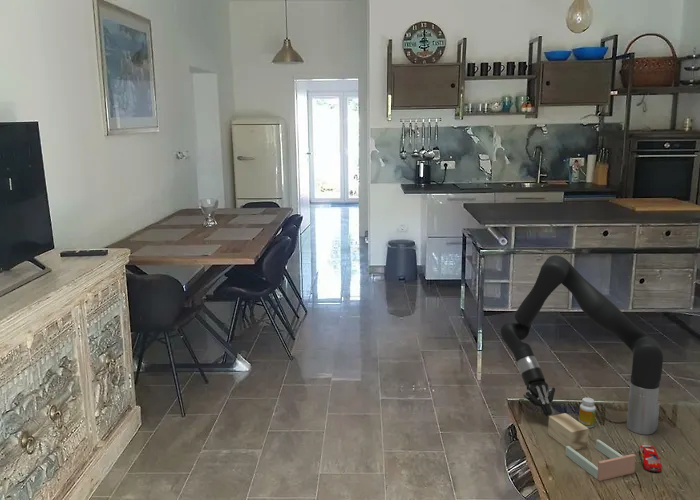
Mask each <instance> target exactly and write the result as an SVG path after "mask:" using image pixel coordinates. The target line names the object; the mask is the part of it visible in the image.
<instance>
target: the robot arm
mask: <svg viewBox="0 0 700 500" xmlns="http://www.w3.org/2000/svg"><path fill="white" fill-rule="evenodd" d="M561 284H562V285H563V286H564V287H565V288H566V289H567V290H568V291H569V292H570V293H571V294H572V296H573V298H574V299H575V300H576V302H577V304H578V305H579V308H580V309H581V310H582V312H583V313H584V314H585V315H586V317H588V318H589V319H590V320H592V321H593V322H594V324H596V325H597V326H598V327H599V328H601V329H603V330H604V331H606V332H608V333H609V334H612V335H613V336H615V337H617V338H618V339H619V340H620V341H621V342H622V343H623V344H625V345H626V346H627V347H628V349H629V350H630V351H631V352H632V355H633V356H632V364H631V365H632V366H631V374H630V380H629V381H630V382H629V393H628V407H627V414H626V415H627V416H626V417H627V418H626V428H627V429H628V430H629V431H631V432H633V433H635V434H638V435H647V436H648V435H652V434H654V433H656V431H657V430H658V425H659V415H660V414H659V413H660V405H659V404H658V402H659V393H660V392H659V391H660V383H661V381H662V372H663V364H664V353H663V350H662V347H661V344H660V343H659V342H658V341H657V340H656V339H655V338H654V337H652V336H651V335H649V334H647V333H646V332H645V331H644V330H643V329H641V328H639V327H638V326H637V325H635V324H634V323H633V322H632V321H631V320H630V319H629V317H628V316H627V315H625V313H624V312H623V311H622V310H620V309H619V308H618V307H617V306H616V305H615V304H614V303H613V302H612V301H611V300H610V299H608V297H606V296H605V295H604V294H603V293H602V292H600V291H599V290H598V289H597V288H596V287H595V286H593V285H592V284H591V283H590V282H589V281H588V280H586V278H584V276H582V275H581V273H580V272H579V271H578V270H577V269H576V268H575V267H574V266H573V265H572V264H571V263H570V262H569V260H568V259H566V258H565V257H564V256H561V255H557V254H556V255H555V254H554V255H550V256H549V257H547V259H546V260H545V261H544V262H543V264H542V265H541V267H540V271H539V273H538V276H537V278H536V280H535V282H534V286H533V287H532V289H530V291H529V293H528V294H527V295H526V296H525V298H524V299H523V301H522V302H521V303H520V305H519V306H518V308H517V309H516V310H515V313H514V319H515V322H506V323H503V324H502V325H501V327H500V335H501V338H502V340H503V341H504V344H506V346H507V347H508V348H509V350H510V351H511V353H512V354H513V356H514V359H515V361H516V364H517V366H518V367H517V368H518V371H519V373H520V375H521V378H522V381H523V382H524V383H523V384H524V385H525V387H526V392H525V393H524V394H523V397H524V398H525V399H526V400H528V402H530V403H531V404H533V406H535V407H538V406H539V407H540V408H541V411H542V413H543V415H544V416H545V417H549V416H552V414H553V410H552V408H551V405H550V403H551V402H553V401H554V397H555V393H556V388H555V387H551V386H549V384H548V383H547V382H546V377H545V375H544V373H543V371H542V369H541V366H540V364H539V362H538V360H537V358H536V356H535V354H534V352H533V350H532V347H531V345H530V344H528V343H526V342H523V340H525V339H526V338H527V337H528V336H529V333H530V331H531V327H532V323H533V321H534V320H535V318H536V317H537V315H538V314H539V313H540V311H541V309H542V308H543V306H544V304H545V302H546V300H548V298H549V296H550V295H551V294H552V293H553V292H554V291H555V290H556V289H557V288H558V287H559V286H560V285H561Z"/></svg>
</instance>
